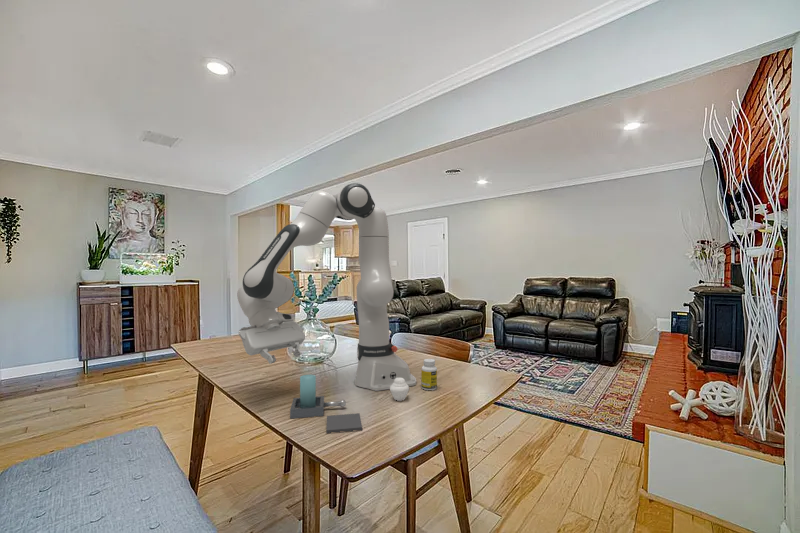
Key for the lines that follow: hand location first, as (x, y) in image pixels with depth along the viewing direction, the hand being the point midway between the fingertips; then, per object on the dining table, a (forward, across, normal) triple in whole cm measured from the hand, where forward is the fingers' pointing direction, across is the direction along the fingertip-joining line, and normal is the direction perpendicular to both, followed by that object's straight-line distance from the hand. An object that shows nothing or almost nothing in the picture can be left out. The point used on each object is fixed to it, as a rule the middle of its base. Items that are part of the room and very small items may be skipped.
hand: (286, 358), depth 109 cm
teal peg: (+17, 0, +3) cm, 17 cm away
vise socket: (+18, +2, +1) cm, 19 cm away
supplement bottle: (+31, +37, -11) cm, 49 cm away
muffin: (+29, +23, -9) cm, 38 cm away
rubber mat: (+27, -1, -8) cm, 28 cm away
